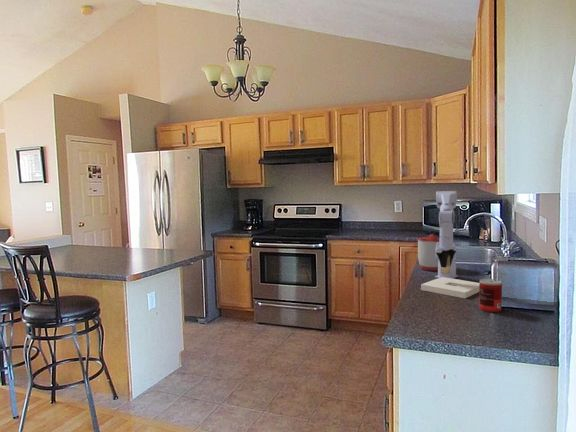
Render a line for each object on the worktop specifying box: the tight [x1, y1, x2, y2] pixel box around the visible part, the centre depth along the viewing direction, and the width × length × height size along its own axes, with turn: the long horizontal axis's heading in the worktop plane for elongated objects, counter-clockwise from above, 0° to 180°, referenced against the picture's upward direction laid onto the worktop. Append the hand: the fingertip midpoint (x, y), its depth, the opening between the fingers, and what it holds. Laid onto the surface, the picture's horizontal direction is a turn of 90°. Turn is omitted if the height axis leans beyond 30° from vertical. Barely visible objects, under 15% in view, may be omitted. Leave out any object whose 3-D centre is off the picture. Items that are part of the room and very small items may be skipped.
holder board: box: [420, 277, 480, 299], centre depth 182 cm, size 20×20×2 cm
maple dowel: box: [441, 256, 450, 274], centre depth 185 cm, size 4×4×8 cm
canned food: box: [478, 278, 503, 313], centre depth 153 cm, size 8×8×11 cm
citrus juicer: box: [417, 233, 440, 272], centre depth 226 cm, size 16×17×20 cm
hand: (445, 266), depth 184 cm, fingers closed on maple dowel, 4 cm apart
